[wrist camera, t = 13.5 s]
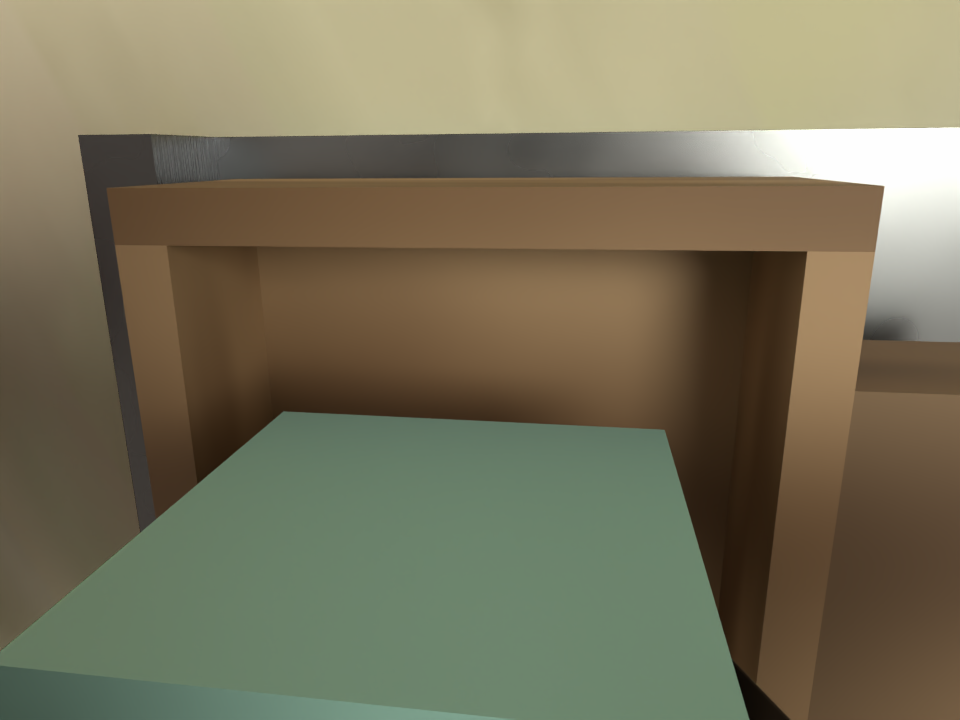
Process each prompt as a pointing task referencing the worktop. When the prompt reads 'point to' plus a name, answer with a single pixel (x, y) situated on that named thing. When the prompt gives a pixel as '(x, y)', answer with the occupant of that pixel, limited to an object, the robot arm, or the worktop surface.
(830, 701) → the wooden crate tray
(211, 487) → the teal block
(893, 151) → the grey flat slab
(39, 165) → the worktop surface
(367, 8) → the worktop surface
